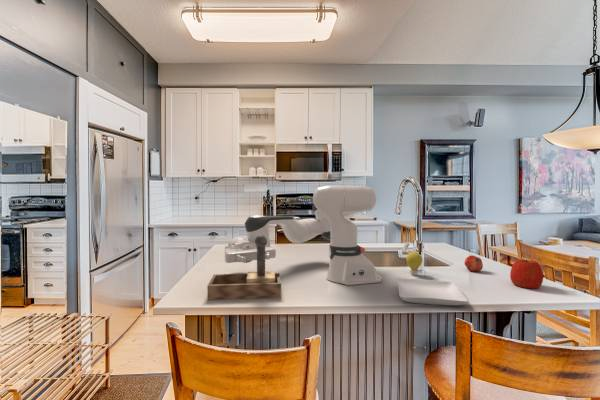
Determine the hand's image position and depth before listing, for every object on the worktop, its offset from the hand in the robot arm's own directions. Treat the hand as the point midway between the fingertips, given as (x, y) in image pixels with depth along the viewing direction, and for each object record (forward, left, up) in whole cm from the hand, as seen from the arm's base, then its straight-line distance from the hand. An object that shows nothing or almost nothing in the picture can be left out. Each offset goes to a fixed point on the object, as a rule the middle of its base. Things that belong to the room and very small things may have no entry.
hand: (256, 258), depth 125 cm
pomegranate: (-98, -17, -12) cm, 100 cm away
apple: (-105, +6, -12) cm, 106 cm away
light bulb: (-68, -13, -12) cm, 70 cm away
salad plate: (-61, +14, -12) cm, 64 cm away
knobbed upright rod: (-2, +4, -10) cm, 11 cm away
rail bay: (+4, +4, -11) cm, 13 cm away
